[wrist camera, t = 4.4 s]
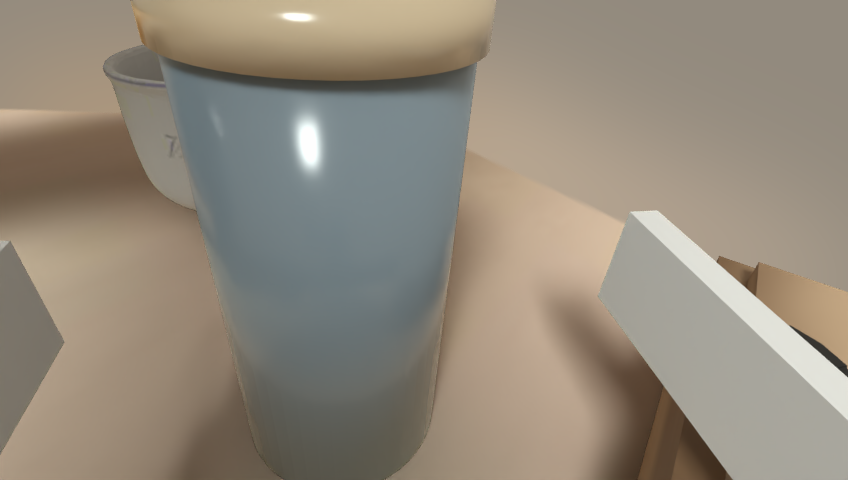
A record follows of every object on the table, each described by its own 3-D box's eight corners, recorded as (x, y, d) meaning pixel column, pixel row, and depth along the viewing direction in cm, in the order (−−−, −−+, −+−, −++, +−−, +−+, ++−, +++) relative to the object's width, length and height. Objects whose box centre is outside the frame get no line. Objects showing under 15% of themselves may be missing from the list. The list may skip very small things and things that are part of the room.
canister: (200, 420, 15) (40, -43, 8) (337, 310, 19) (319, -47, 12) (354, 549, 12) (333, 21, 5) (471, 386, 17) (551, -14, 9)
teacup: (178, 275, 20) (124, 94, 16) (130, 176, 27) (82, 30, 23) (428, 197, 28) (439, 57, 23) (340, 134, 35) (336, 17, 30)
